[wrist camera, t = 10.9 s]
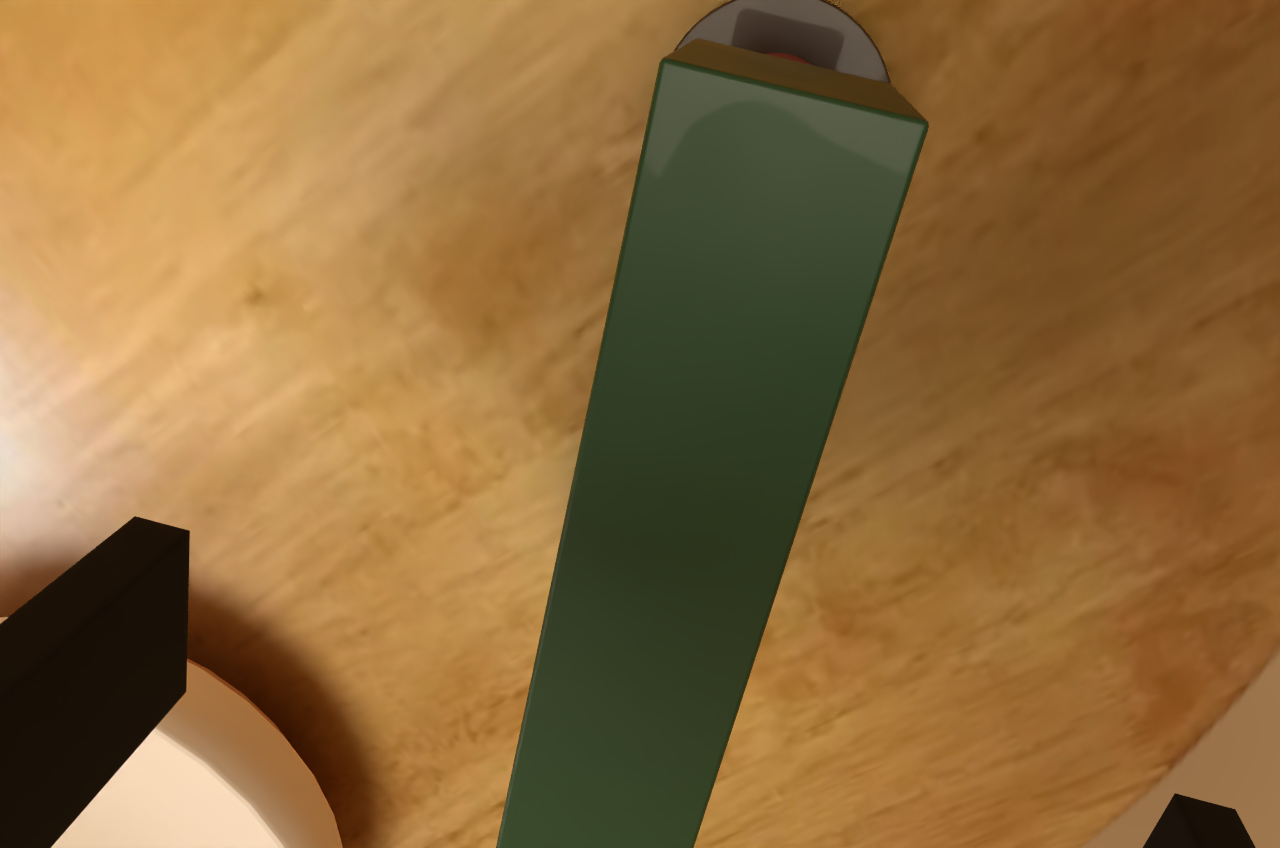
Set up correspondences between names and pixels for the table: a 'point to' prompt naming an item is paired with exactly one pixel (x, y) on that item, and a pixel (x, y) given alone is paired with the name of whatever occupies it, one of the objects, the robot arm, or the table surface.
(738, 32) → the red peg on stand
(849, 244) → the green bar
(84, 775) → the robot arm
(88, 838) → the bowl
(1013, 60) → the table surface
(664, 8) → the table surface
